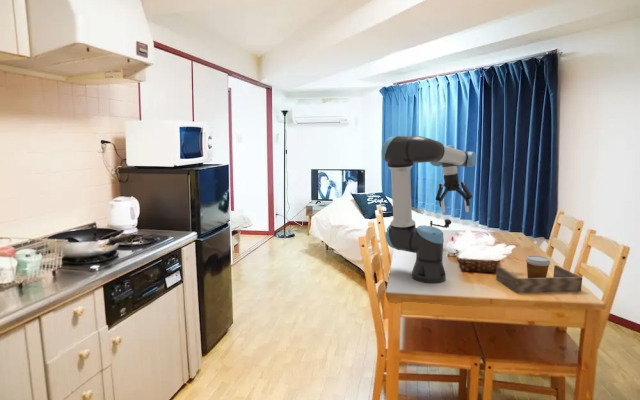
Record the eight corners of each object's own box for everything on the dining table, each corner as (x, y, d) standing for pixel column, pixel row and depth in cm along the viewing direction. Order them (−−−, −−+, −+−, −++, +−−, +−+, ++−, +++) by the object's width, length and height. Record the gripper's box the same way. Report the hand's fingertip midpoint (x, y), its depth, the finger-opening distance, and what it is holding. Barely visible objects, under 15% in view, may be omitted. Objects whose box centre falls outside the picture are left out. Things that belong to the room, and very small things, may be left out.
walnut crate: (515, 293, 169) (516, 279, 168) (496, 279, 186) (496, 266, 185) (580, 291, 171) (582, 277, 170) (555, 277, 188) (556, 265, 187)
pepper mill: (425, 251, 233) (426, 220, 230) (418, 246, 244) (419, 216, 241) (451, 250, 234) (452, 219, 232) (443, 245, 245) (444, 216, 243)
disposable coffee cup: (519, 282, 182) (520, 256, 180) (534, 279, 185) (536, 254, 183) (537, 289, 173) (540, 262, 171) (553, 286, 177) (555, 259, 175)
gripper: (475, 170, 216) (480, 210, 218) (432, 174, 233) (437, 211, 236) (470, 172, 211) (474, 213, 213) (426, 176, 228) (431, 214, 230)
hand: (455, 212), depth 224 cm, fingers open, 13 cm apart
